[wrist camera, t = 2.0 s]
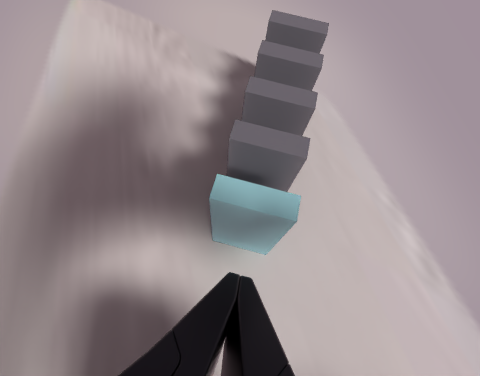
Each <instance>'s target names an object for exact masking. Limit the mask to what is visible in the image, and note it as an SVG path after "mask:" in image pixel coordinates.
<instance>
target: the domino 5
mask: <svg viewBox="0 0 480 376" xmlns="http://www.w3.org/2000/svg"><path fill="white" fill-rule="evenodd" d="M300 199H301V196H300V195H296V194H292V193H288V192H285V191H281V190H277V189H273V188H269V187H266V186H262V185H258V184H254V183H250V182H247V181H243V180H239V179H235V178H231V177H228V176H224V175H220V174H217V176H216V179H215V182H214V185H213V188H212V191H211V194H210V197H209V203H210V214H211V226H212V237H213V241H217V242H220V243H224V244H228V245H231V246H235V247H239V248H242V249H246V250H250V251H253V252H257V253H261V254H264V255H266V254H267V253H268V252H269V251H270V250H271V249H272V248H273V247H274V246H275V245H276V243H277V242H278V241H279V240H280V239H281V238H282V237H283V236H284V235H285V234H286V233H287V232H288V231H289V229H290V228H291V227H292V226H293V225H294V224H295V223H296V222H297V217H298V211H299V205H300Z"/></svg>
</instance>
